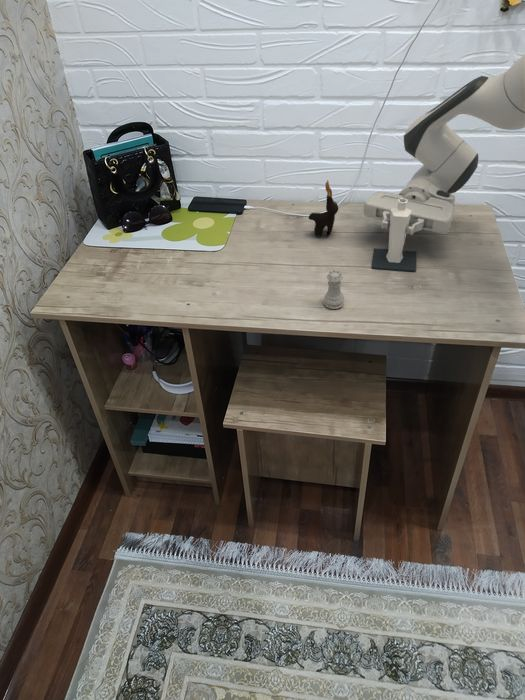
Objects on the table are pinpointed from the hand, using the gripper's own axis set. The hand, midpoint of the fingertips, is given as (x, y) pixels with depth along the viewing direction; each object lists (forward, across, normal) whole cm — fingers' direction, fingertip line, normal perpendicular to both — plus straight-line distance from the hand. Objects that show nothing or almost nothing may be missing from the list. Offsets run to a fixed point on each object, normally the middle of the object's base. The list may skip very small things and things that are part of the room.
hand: (396, 228), depth 127 cm
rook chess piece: (+20, -6, +9) cm, 23 cm away
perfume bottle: (-1, 0, +9) cm, 9 cm away
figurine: (-5, -20, +9) cm, 23 cm away
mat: (-1, 0, +9) cm, 9 cm away
